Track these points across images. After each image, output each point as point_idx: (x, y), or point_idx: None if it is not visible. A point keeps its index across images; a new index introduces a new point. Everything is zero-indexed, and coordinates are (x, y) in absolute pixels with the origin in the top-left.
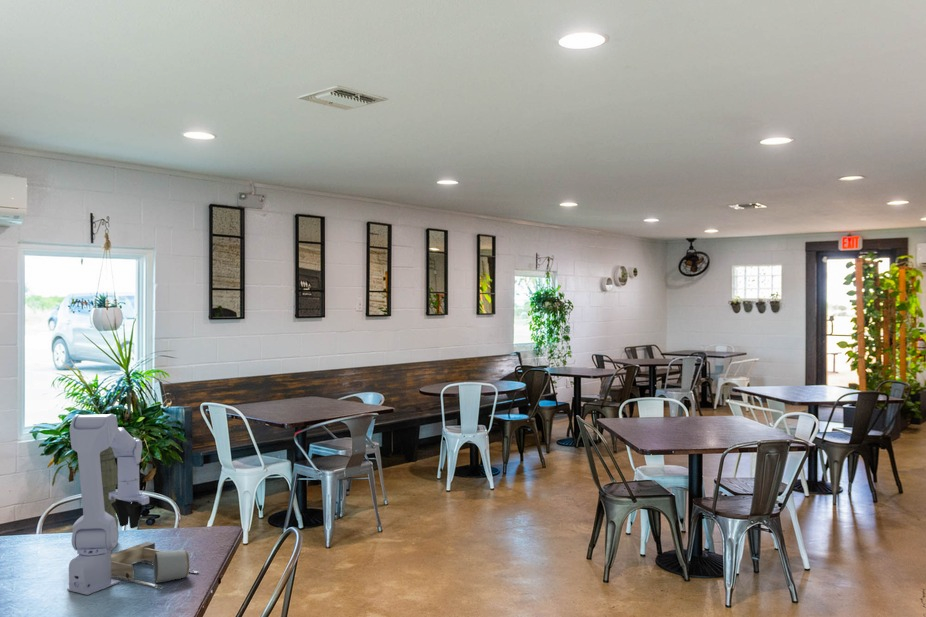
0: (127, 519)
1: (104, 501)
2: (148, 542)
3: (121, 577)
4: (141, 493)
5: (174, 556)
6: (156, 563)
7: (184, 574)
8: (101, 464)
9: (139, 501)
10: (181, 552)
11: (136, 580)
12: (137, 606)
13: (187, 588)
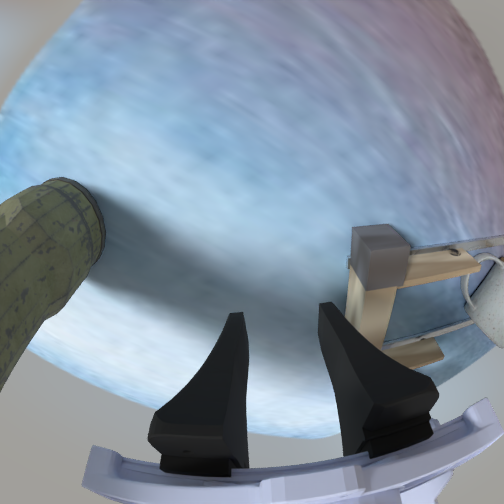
0: (240, 334)
1: (3, 359)
2: (382, 254)
3: (401, 343)
4: (362, 476)
5: None
6: (477, 316)
7: None
8: None
9: (429, 445)
10: None
11: (438, 332)
12: (475, 357)
13: None
